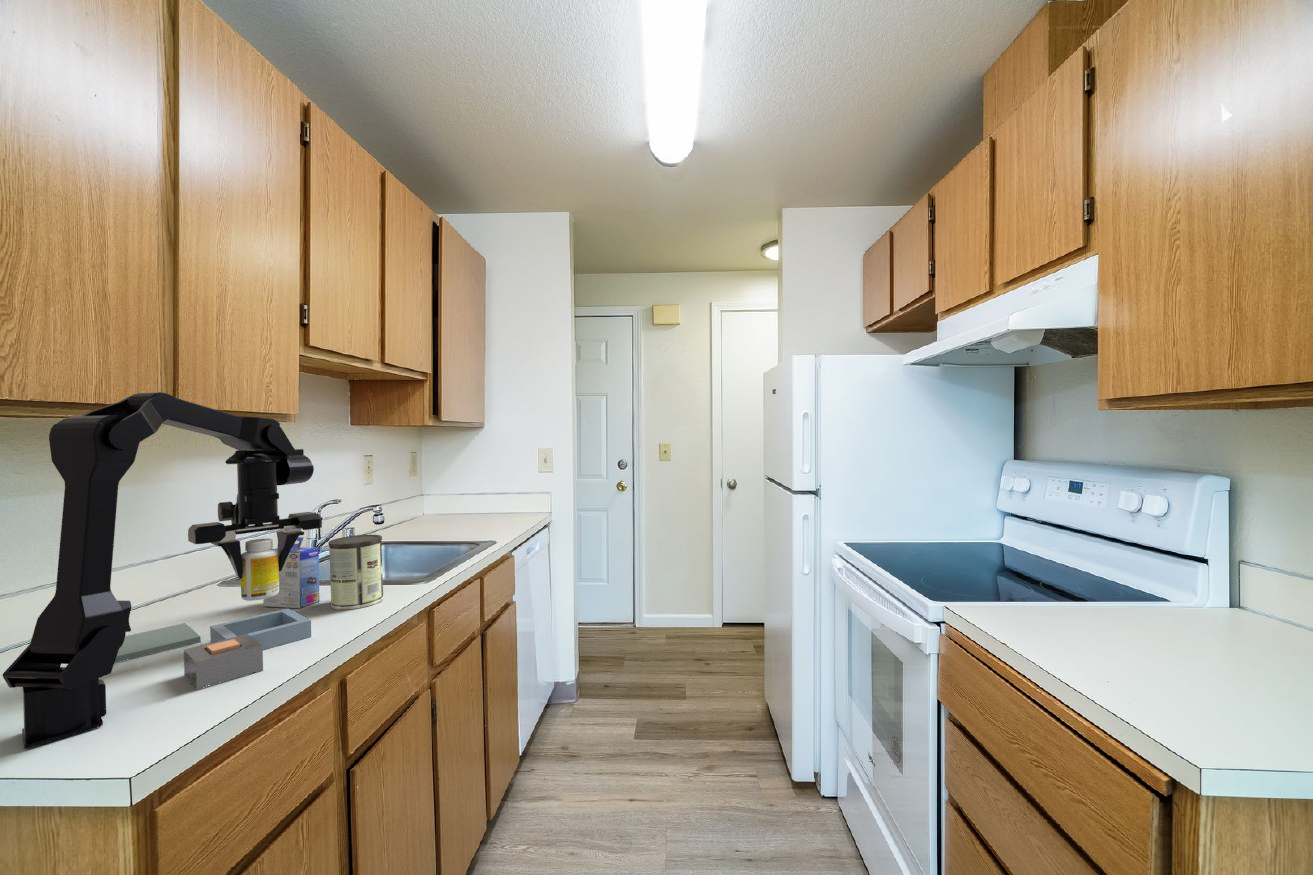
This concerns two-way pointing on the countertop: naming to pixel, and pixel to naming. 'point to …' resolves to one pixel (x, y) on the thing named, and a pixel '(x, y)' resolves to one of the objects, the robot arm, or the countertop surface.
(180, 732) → the countertop surface
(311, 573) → the ink cartridge box
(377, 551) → the coffee can
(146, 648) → the mat
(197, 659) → the block
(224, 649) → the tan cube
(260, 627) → the tray
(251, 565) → the supplement bottle
